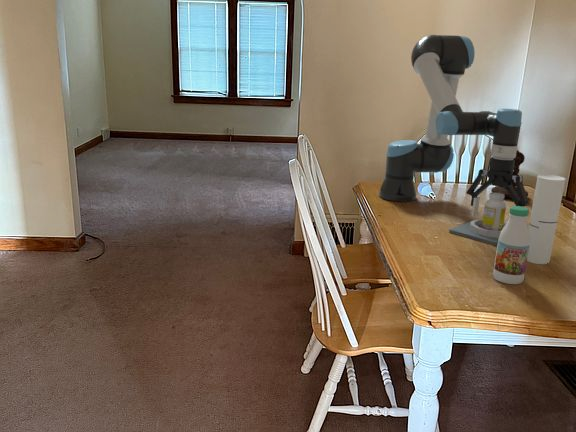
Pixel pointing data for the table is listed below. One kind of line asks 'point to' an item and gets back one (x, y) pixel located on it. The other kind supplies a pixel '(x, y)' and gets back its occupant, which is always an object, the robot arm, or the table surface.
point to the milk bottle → (513, 248)
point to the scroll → (518, 160)
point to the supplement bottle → (494, 212)
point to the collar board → (477, 232)
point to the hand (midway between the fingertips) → (493, 220)
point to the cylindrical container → (544, 217)
